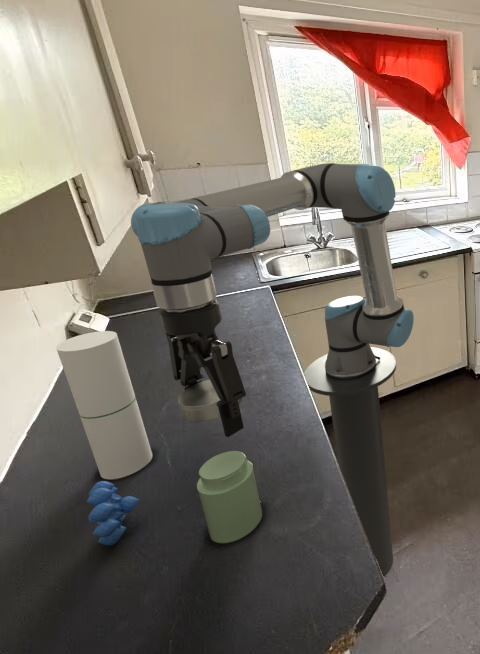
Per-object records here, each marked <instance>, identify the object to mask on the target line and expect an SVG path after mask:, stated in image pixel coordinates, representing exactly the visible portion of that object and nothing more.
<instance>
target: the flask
mask: <svg viewBox="0 0 480 654" xmlns="http://www.w3.org/2000/svg"><path fill="white" fill-rule="evenodd" d="M198 476H199V477H200V478H199V479H198V481H197V483H196V489H197V494H198V497H199V500H200V501H199V502H200V504H201V510H202V513H203V516H204V520H205V524H206V528H207V531H208V535H209V538H210V539H211V541H212V542H215V543H217V544H229V543H233V542H236V541H239V540H240V539H242V538H244V537H246V536H247V535H249V534H250V533H251V532H253V531H254V530H255V529H256V528H257V526H258V525H259V524H260V522H261V520H262V518H263V509H262V508H263V507H262V504H261V500H260V494H259V489H258V484H257V480H256V475H255V471H254V466H253V463H252V461H249V460H248V459H247V456H246V454H245V453H244V452H242V451H238V450H230V451H226V452H221V453H219V454H217V455H214V456H212V457H211V458H209V459H208V460H206V461H205V462H204V463H203V464H202V465H201V467H200V468H199V470H198Z"/></svg>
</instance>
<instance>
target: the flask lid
mask: <svg viewBox="0 0 480 654" xmlns="http://www.w3.org/2000/svg"><path fill="white" fill-rule="evenodd" d="M242 401H243V398H241V399H239V400H238V403H239V405H240V404H241V403H242ZM177 402H178V407H179V412H180V415H181V418H182V419H184V420H185V421H187V422H190V423H203V422H209V421H213V420H216V419H219V418H221V416H220V412H219V408H218V406H217V405H216V404H217V403H218V402H220V399H219V397H218V395H217V393H216V391H215V389H214V387H213V385H212V383H211V381H210V379H209V378H208V379H206V380H202V382H200V383H197V384H195V385H193V386H191V387H189V388H188V389H186V390H185V389H184V391H182V392H181V393H180V394H179V396H178V398H177Z"/></svg>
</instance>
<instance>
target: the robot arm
mask: <svg viewBox="0 0 480 654" xmlns="http://www.w3.org/2000/svg"><path fill="white" fill-rule="evenodd" d="M396 195H397V193H396V188H395V183H394V180H393V178H392V176H391V175H390V173H389V172H388V171H387V170H386V169H385V168H384V167H382V166H380V165H375V164H369V163H341V162H340V163H338V162H337V163H336V162H325V163H324V162H323V163H318V164H313V165H310V166H305V167H301V168H298V169H293V170H288V171H286V172H283V174H282V175H281V176H280V177H277V178H274V179H269V180H265V181H260V182H257V183H251V184H248V185H243V186H239V187H235V188H230V189H225V190H222V191H216V192H212V193H208V194H204V195H200V196H199V195H198V196H196V197H195V196H194V197H191V198H187V199H182V200H177V201H173V202H163V201H157V202H156V201H155V202H147V203H143V204H140V205H139V206H138V207H137V208H136V209H135V210H134V211H133V212H132V214H131V217H130V224H131V229H132V232H133V233H134V234H135V236H136V237H137V240H138V242H139V243H140V245H141V249H142V250H141V251H142V253H143V257H144V260H145V264H146V266H147V270H148V274H149V278H150V280H151V281H150V282H151V283H150V284H151V289H152V292H153V296H154V300H155V304H156V307H157V308H158V309H160V310H159V316H160V321H161V323H162V328H163V330H164V334H165V338H166V340H167V343H168V348H169V356H170V362H171V369H172V376H173V380H175V381H176V382H178V381H179V380H180V381H179V383H180V385H181V386H182V387H183V389H184V391H185V390H186V389H188V388H189V387H191V386H193V385H195V384H197V383H200V382H202V381H203V380H202V379H204V378H205V376H204V375H203V374H202V373H201V368H203V369H204V371H205V373H206V375H207V377H208V380H209V379H210V381H211V383H212V385H213V387H214V389H215V391H216V393H217V395H218V397H219V399H220V402H218V403H217V404H216V405H217V406H218V408H219V412H220V416H221V417H220V420H221V425H222V429H223V434H224V437H226V438H230V437H231V436H233V435H235V434H236V433H238V432H239V431H241V430H244V428H245V427H244V423H243V417H242V413H241V407H240V404H239V403H238V400H239V399H241V398H242V399H243V398H244V397H246V396H247V392H246V389H245V387H244V383H243V380H242V377H241V375H240V371H239V369H238V366H237V362H236V360H235V357H234V352H233V345H232V342H231V341H230V340H227V341H224V342H221V341H220V339H219V336H218V335H217V332H216V330H215V329H216V327H217V326H218V325H219V324H220V323H221V322H222V320H223V316H222V312H221V307H220V303H219V300H218V299H217V291H216V287H215V282H216V281H215V280H216V278H215V277H214V276H213V270H212V264H211V260H214V259H217V258H220V257H223V256H227V255H231V254H235V253H237V252H241V251H245V250H250V249H253V248H254V247H257V246H259V245H261V244H264V243H265V242H266V241H267V240H268V239H269V237H270V235H271V224H270V220H269V218H270V217H272V216H275V215H279V214H281V213H284V212H288V211H291V210H297V211H303V210H304V211H305V210H308V209H312V208H313V209H314V208H320V209H321V208H323V209H325V208H326V209H335V210H341V214H342V219H343V221H344V222H345V223H347V224H349V225H350V227H351V232H352V236H353V241H354V247H355V252H356V257H357V261H358V266H359V267H358V268H359V272H360V277H361V282H362V286H363V292H364V297H365V298H364V297H363V296H361V295H349V296H344V297H340V298H336V299H334V300H332V301H330V302H328V303H327V304H326V305H325V307H324V321H325V330H326V336H327V342H328V351H327V354H328V356H327V359H326V361H325V363H326V364H325V371H326V375H327V376H328V377H330V378H332V379H336V380H352V379H356V378H360V377H363V376H365V375H367V374H369V373H370V372H372V371H373V370H374V369H375V367H376V359H378V360H380V357H378V356H376V355H374V353H373V351H372V349H371V347H372V346H371V345H375V346H382V347H386V348H390V347H393V348H400V347H402V346H404V345H405V344H406V343H407V341H408V340H409V338H410V336H411V335H412V330H413V327H414V320H415V317H414V312H413V311H412V310H411V309H409V308H405V306H404V301H403V298H402V297H401V296H398V294H397V289H396V283H395V277H394V276H395V275H394V270H393V265H392V258H391V252H390V251H391V250H390V247H389V246H390V245H389V240H388V239H389V238H388V233H387V228H386V219H387V218H388V217H389V216H390V211H391V210H392V209H393V208H394V205H395V203H396V200H395V198H396Z"/></svg>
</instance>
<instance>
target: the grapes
mask: <svg viewBox="0 0 480 654" xmlns="http://www.w3.org/2000/svg"><path fill="white" fill-rule="evenodd" d="M118 490H119V488H118V487H116V486H115V484H114V483H113V482H109V481H107V480H100V481H97V482H96V483H95V484H94V485H92V488H91V489H90V490H89V493H88V497H87V500H86V501H85V502H86V503H88V504H89V505H93V506H94V508H93V509H92V510H91V511H90V513H89V514H88V516H87V518H88V520H87V521H88V522H90V523H92V524H95V525H96V527H95V529H94V530H93V532H92V535H95V536H97V537H99V539H98V541H97V543H99V544H101V545H104V546H113V545H115V544H116V543H118V541H119V540H120V539H121V537H122V536H124V533H125V532H126V530H127V527H126V526H123V525H122V524H123V522H124V520H125V518H126V517H127V516H126V515H125V514H129V513H131V512H132V511H133V510H134V509H135V508H136V507H137V505H138V503H139V502H140V501H141V499H140V498H138V497H135V496H133V495H126V496H124V497H122V496H121V495H120V494H117V492H118Z"/></svg>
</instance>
